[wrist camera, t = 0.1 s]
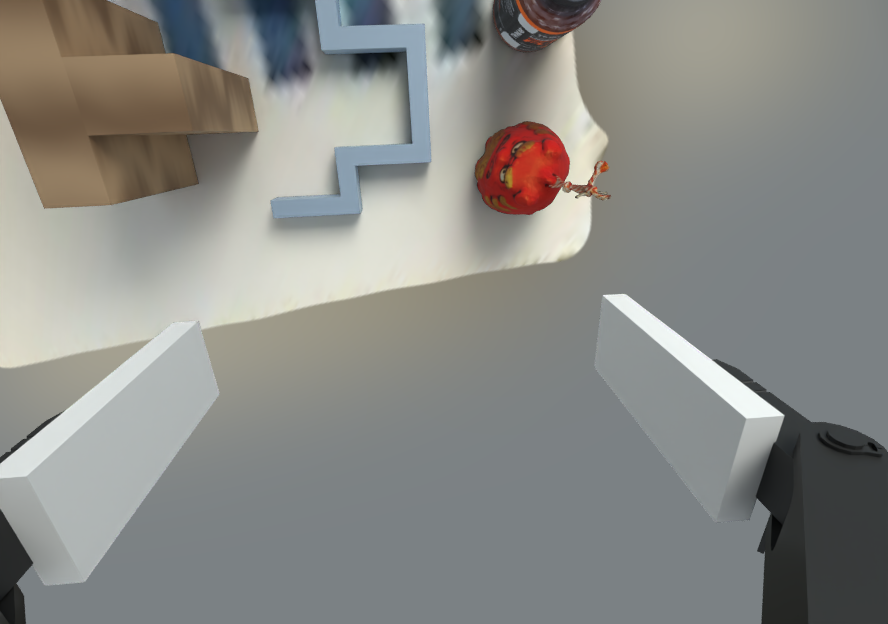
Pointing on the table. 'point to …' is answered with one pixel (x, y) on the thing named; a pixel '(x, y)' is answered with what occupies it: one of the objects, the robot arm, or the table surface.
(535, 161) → the red clay folk toy
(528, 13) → the supplement bottle
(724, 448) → the robot arm
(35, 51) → the tee block
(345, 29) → the tee dock
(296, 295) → the table surface
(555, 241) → the table surface
